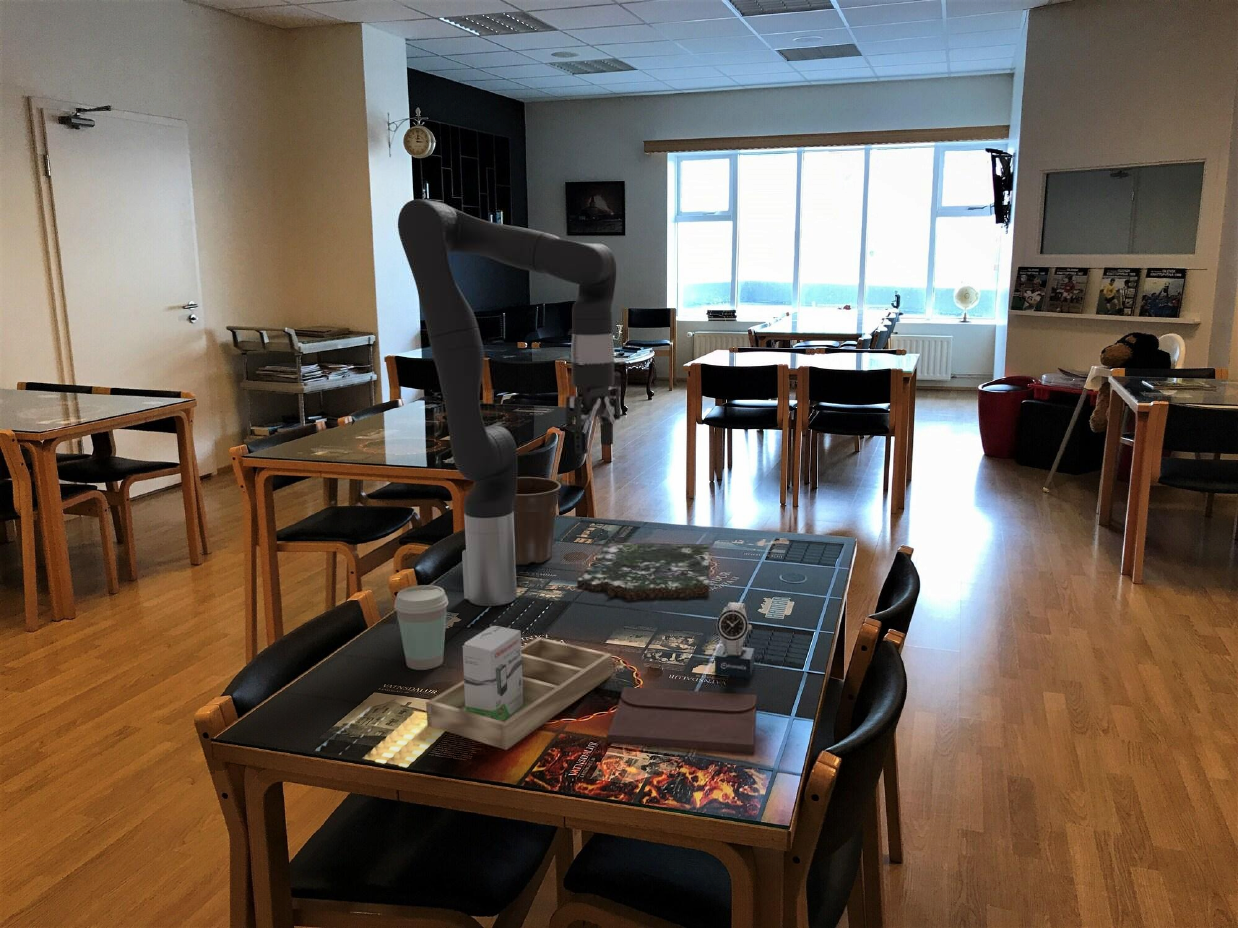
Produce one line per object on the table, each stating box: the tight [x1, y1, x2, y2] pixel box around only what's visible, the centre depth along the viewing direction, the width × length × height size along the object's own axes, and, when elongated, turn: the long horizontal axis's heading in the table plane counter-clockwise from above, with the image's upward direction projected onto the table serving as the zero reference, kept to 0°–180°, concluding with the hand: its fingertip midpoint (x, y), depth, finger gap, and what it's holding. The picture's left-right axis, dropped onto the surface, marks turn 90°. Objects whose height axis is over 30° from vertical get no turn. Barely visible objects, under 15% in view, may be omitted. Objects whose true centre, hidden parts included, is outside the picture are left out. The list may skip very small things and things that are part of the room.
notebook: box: [606, 686, 758, 754], centre depth 138 cm, size 15×20×2 cm
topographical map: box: [577, 542, 710, 601], centre depth 202 cm, size 26×33×3 cm
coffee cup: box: [393, 584, 449, 671], centre depth 158 cm, size 9×8×12 cm
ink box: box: [462, 625, 523, 722], centre depth 139 cm, size 9×5×12 cm, turn 156°
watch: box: [714, 601, 755, 679], centre depth 153 cm, size 6×8×11 cm
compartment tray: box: [425, 636, 613, 751], centre depth 145 cm, size 14×27×4 cm, turn 149°
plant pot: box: [513, 476, 562, 566], centre depth 211 cm, size 16×16×16 cm
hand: (594, 449), depth 176 cm, fingers open, 8 cm apart
